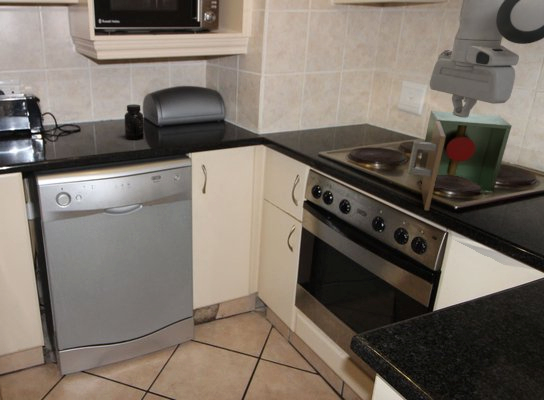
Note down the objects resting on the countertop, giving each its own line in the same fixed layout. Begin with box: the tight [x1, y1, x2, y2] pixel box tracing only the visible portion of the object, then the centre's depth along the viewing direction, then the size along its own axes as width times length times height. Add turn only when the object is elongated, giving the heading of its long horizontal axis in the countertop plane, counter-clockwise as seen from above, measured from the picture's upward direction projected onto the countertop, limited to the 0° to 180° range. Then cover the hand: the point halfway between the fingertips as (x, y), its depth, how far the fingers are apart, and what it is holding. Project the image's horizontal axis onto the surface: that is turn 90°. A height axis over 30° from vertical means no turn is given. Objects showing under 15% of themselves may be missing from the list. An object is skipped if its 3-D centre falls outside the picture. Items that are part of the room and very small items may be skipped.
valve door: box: [406, 121, 446, 212], centre depth 122 cm, size 6×17×19 cm, turn 158°
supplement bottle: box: [123, 104, 145, 141], centre depth 174 cm, size 7×7×12 cm
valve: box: [446, 125, 475, 175], centre depth 134 cm, size 7×5×15 cm
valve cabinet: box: [418, 110, 512, 195], centre depth 131 cm, size 12×17×19 cm
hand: (460, 116), depth 109 cm, fingers closed
